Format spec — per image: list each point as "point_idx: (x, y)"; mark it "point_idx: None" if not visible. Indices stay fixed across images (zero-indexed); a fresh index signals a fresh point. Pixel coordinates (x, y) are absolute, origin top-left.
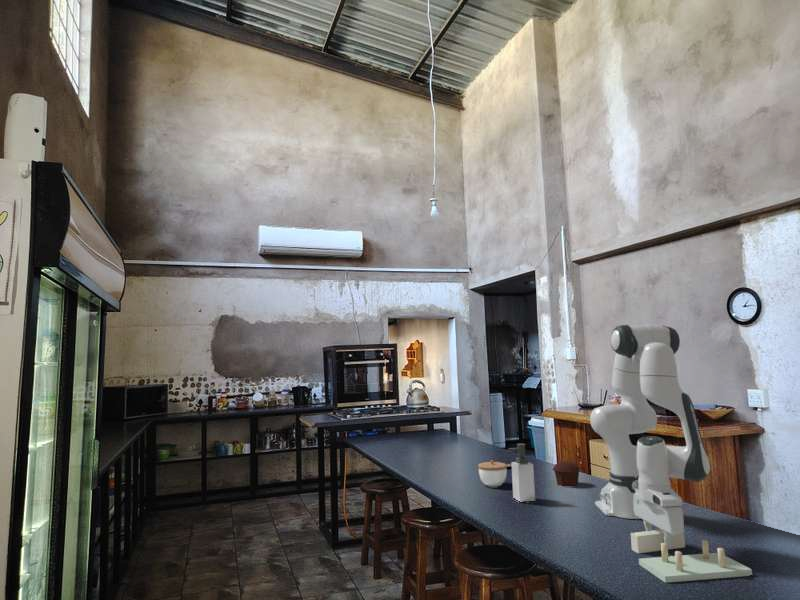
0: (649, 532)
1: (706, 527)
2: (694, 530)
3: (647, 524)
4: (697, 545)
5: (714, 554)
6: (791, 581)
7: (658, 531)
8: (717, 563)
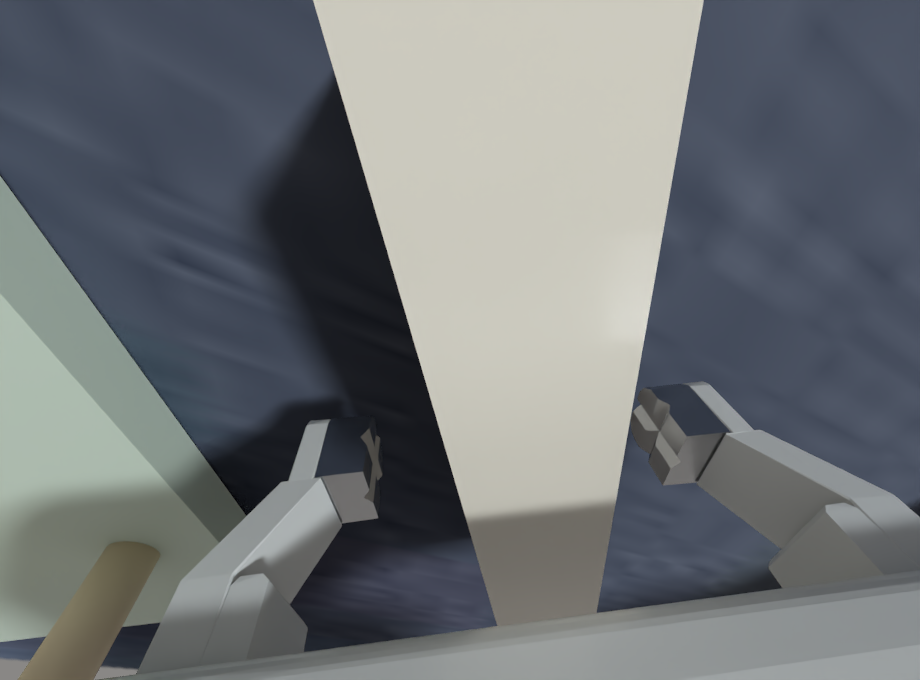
0: (550, 420)
1: None
2: (678, 584)
3: (802, 509)
4: None
5: None
6: (20, 657)
7: (547, 519)
8: (15, 570)
